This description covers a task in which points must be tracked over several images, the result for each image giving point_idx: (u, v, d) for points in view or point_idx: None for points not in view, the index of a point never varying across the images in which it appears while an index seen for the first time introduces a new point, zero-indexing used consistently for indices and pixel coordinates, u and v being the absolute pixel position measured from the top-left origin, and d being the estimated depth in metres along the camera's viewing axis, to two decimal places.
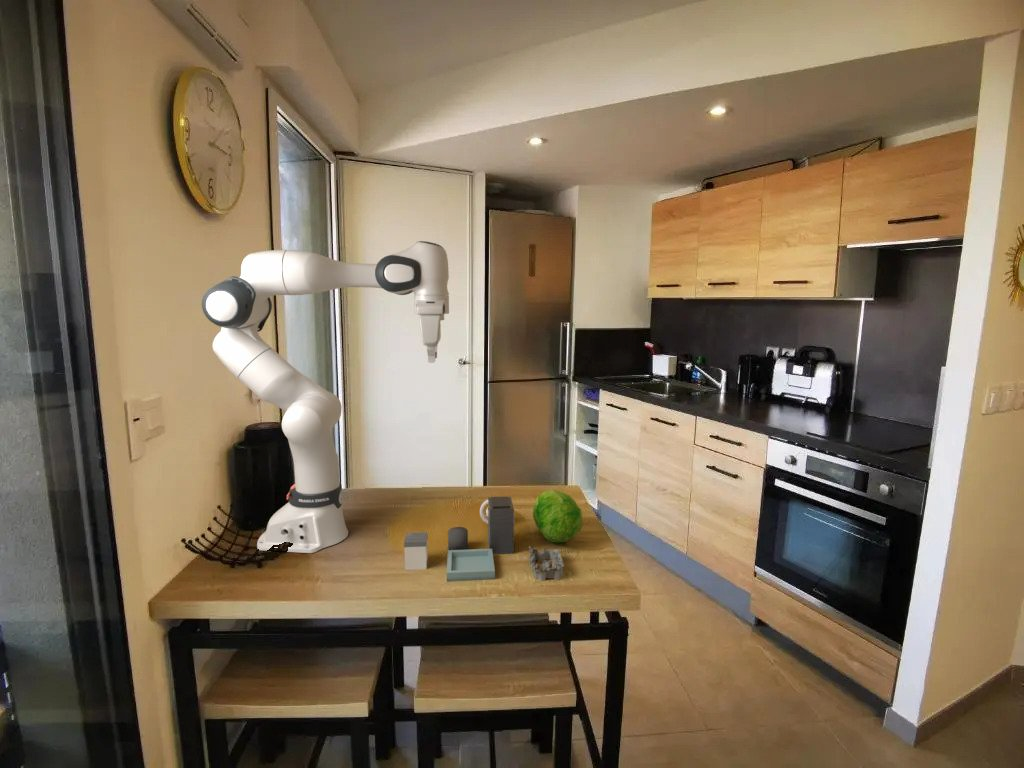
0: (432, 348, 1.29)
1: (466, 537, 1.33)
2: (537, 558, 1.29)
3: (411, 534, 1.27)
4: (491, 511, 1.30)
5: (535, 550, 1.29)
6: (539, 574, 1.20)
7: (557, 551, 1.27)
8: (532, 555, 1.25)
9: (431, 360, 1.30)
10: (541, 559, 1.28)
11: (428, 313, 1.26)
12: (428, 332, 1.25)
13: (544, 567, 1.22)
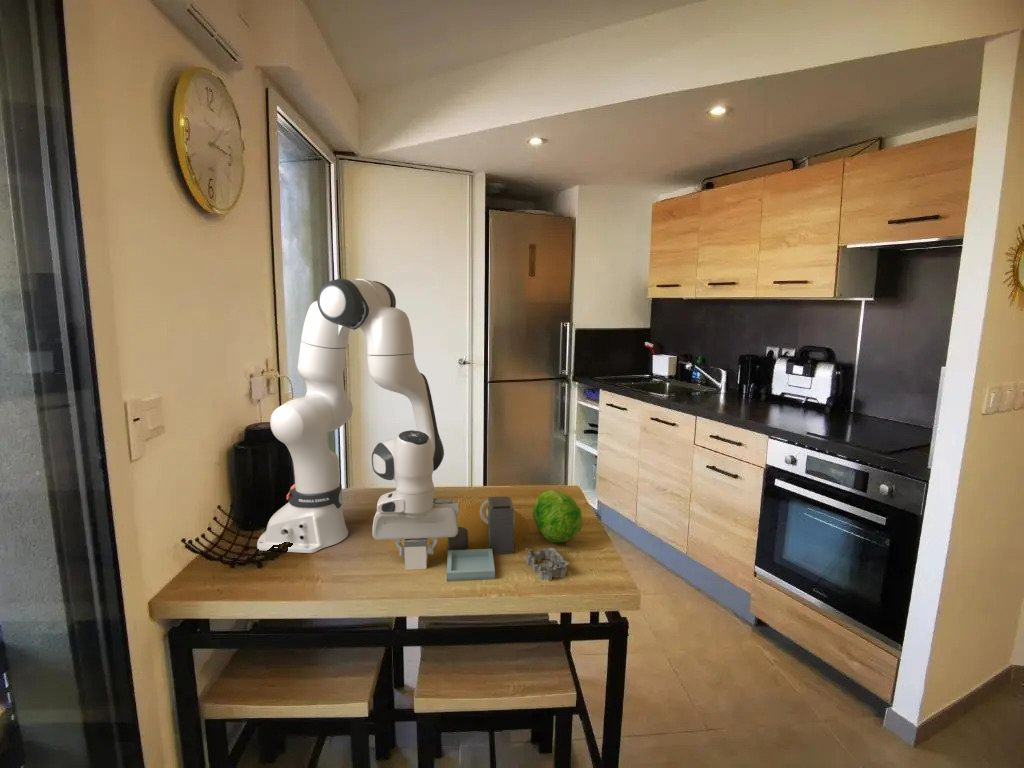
0: None
1: (466, 537, 1.33)
2: None
3: None
4: (491, 511, 1.30)
5: (531, 551, 1.28)
6: (545, 575, 1.19)
7: (553, 550, 1.28)
8: (532, 557, 1.25)
9: None
10: (538, 559, 1.28)
11: None
12: None
13: (548, 567, 1.22)
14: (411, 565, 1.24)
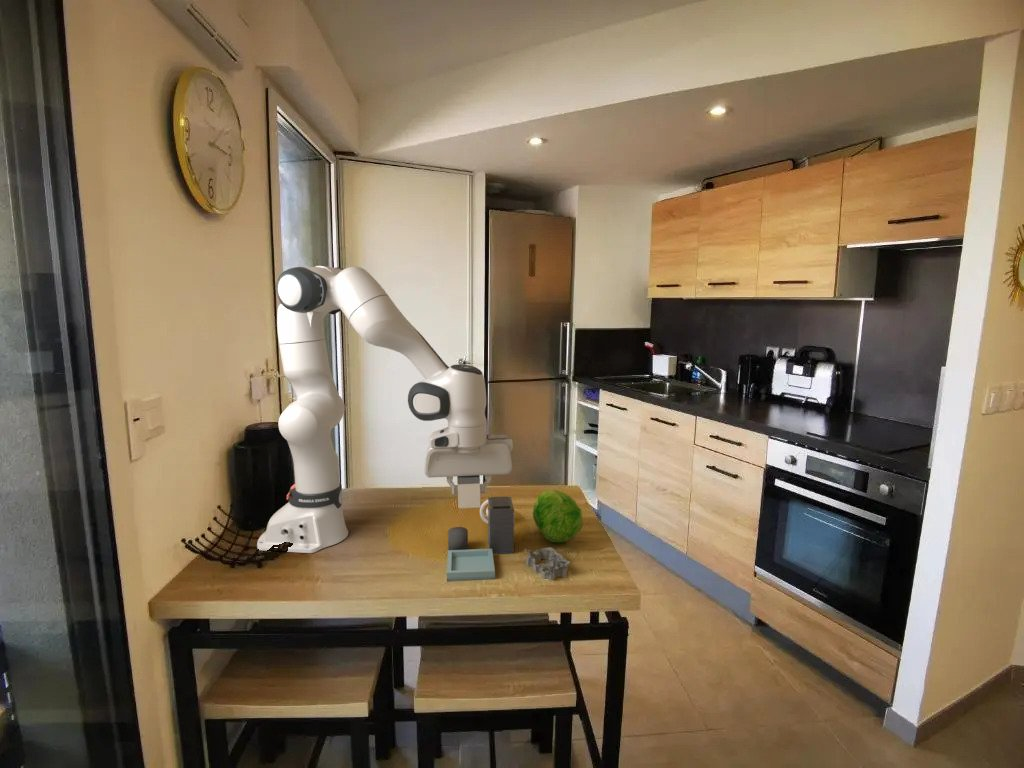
0: None
1: (466, 537, 1.33)
2: None
3: None
4: (491, 511, 1.30)
5: (530, 552, 1.28)
6: (548, 574, 1.19)
7: (552, 549, 1.28)
8: (532, 557, 1.24)
9: (452, 491, 1.21)
10: (536, 560, 1.28)
11: None
12: None
13: (549, 567, 1.22)
14: (465, 503, 1.19)
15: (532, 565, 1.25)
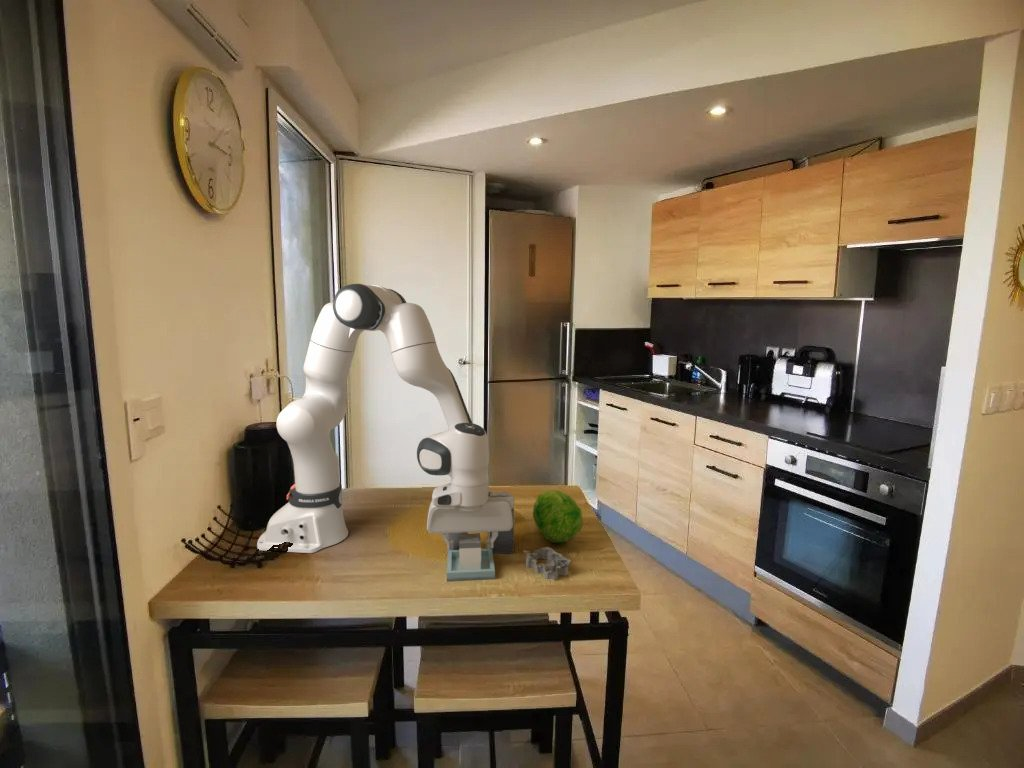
0: (442, 535, 1.22)
1: None
2: None
3: (464, 535, 1.25)
4: None
5: (528, 553, 1.27)
6: (551, 574, 1.20)
7: (550, 549, 1.29)
8: (532, 558, 1.24)
9: None
10: None
11: None
12: None
13: (551, 566, 1.22)
14: (466, 567, 1.22)
15: (532, 566, 1.25)
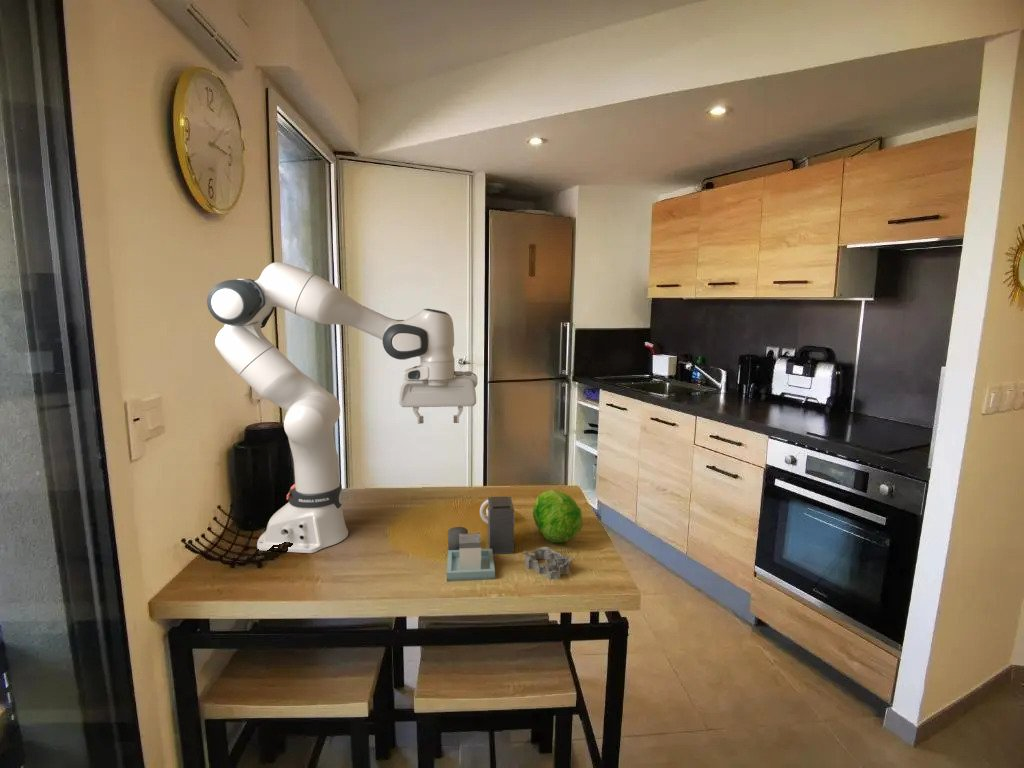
0: (413, 409, 1.37)
1: None
2: None
3: (464, 535, 1.25)
4: (491, 511, 1.30)
5: (527, 554, 1.27)
6: (554, 574, 1.20)
7: (547, 548, 1.29)
8: (533, 559, 1.24)
9: None
10: None
11: None
12: None
13: (552, 566, 1.22)
14: (466, 567, 1.22)
15: (532, 567, 1.24)
